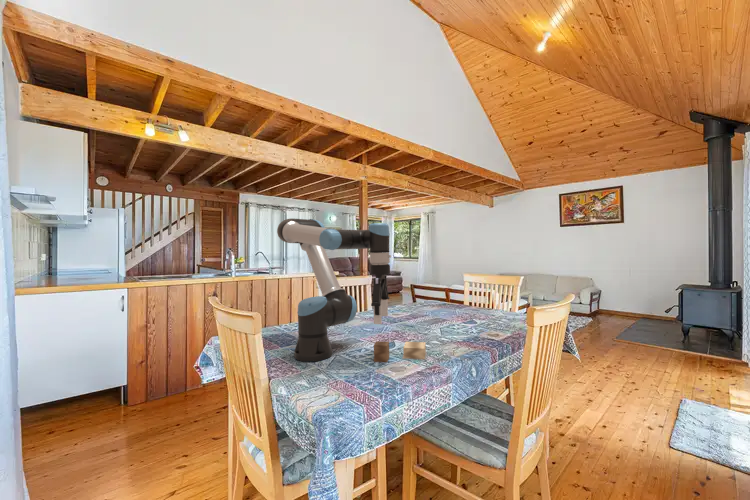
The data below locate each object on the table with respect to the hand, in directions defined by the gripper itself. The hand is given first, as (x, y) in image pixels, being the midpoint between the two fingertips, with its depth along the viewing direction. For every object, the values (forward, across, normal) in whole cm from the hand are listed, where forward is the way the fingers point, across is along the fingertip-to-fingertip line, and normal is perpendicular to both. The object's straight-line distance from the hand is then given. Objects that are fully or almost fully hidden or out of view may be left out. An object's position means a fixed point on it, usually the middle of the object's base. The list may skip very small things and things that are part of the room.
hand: (381, 319), depth 123 cm
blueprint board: (+16, +7, -12) cm, 21 cm away
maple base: (+15, +7, -12) cm, 20 cm away
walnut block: (+16, 0, 0) cm, 16 cm away
